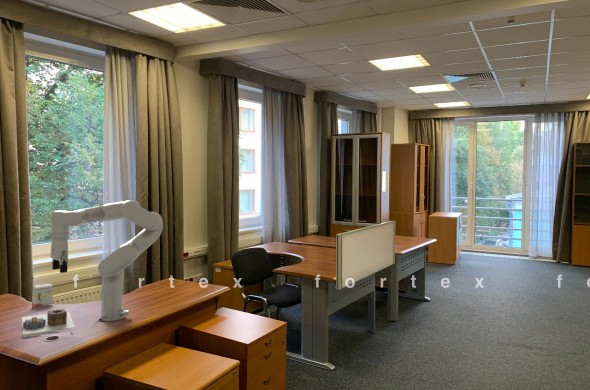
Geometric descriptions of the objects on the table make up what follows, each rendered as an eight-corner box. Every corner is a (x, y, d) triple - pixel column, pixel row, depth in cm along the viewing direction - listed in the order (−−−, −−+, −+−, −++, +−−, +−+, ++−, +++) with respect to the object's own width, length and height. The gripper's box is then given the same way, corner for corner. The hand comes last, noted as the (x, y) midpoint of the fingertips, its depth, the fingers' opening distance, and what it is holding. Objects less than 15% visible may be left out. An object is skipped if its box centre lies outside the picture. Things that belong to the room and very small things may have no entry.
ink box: (35, 310, 224) (35, 287, 223) (31, 308, 227) (32, 285, 226) (53, 306, 230) (53, 284, 230) (49, 304, 233) (49, 283, 233)
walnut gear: (70, 320, 205) (70, 309, 205) (60, 326, 197) (61, 314, 196) (53, 320, 205) (53, 308, 205) (42, 326, 197) (42, 314, 196)
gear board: (21, 320, 208) (22, 307, 207) (68, 314, 219) (68, 302, 218) (23, 337, 186) (23, 323, 186) (74, 330, 197) (75, 317, 197)
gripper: (45, 234, 213) (45, 269, 213) (58, 238, 201) (58, 275, 202) (61, 233, 218) (61, 267, 219) (75, 237, 207) (74, 272, 207)
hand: (59, 270), depth 210 cm, fingers open, 9 cm apart
